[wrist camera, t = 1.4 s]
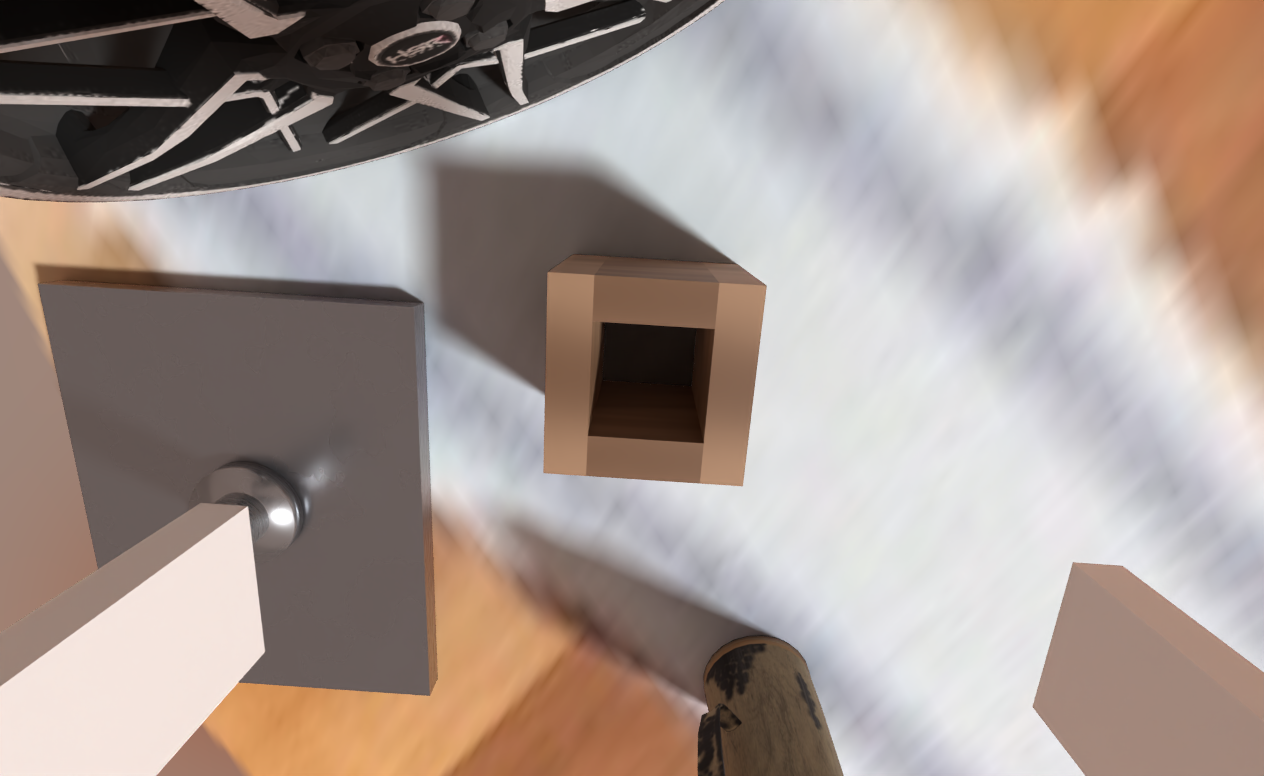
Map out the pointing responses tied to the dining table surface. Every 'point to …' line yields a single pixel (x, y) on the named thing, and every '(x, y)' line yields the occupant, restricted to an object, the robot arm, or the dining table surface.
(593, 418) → the hollow wooden cube
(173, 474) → the shaft stand
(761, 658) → the mug
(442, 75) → the wheel rim
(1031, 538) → the dining table surface
